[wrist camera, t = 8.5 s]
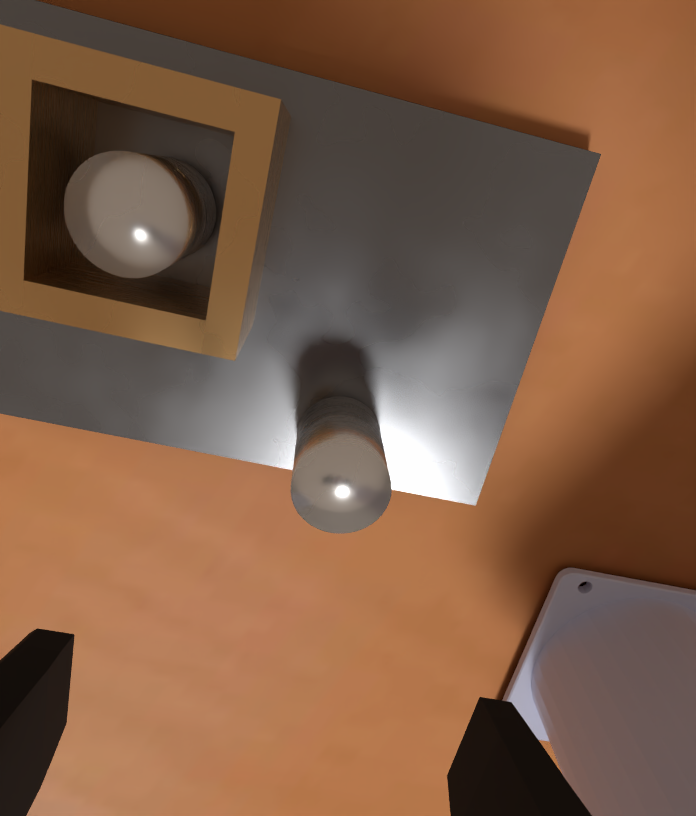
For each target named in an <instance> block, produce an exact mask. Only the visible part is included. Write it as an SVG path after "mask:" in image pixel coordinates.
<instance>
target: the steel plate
mask: <svg viewBox="0 0 696 816" xmlns="http://www.w3.org/2000/svg"><path fill="white" fill-rule="evenodd" d="M0 24H1V25H4V26H8V27H12V28H16V29H19V30H23V31H27V32H31V33H34V34H38V35H42V36H46V37H49V38H53V39H57V40H61V41H64V42H68V43H72V44H76V45H79V46H83V47H87V48H91V49H94V50H98V51H102V52H106V53H109V54H113V55H117V56H121V57H124V58H128V59H132V60H136V61H139V62H143V63H147V64H151V65H154V66H158V67H162V68H166V69H169V70H173V71H177V72H181V73H184V74H188V75H192V76H196V77H199V78H203V79H207V80H210V81H214V82H218V83H222V84H225V85H229V86H233V87H237V88H240V89H244V90H248V91H252V92H255V93H259V94H263V95H267V96H270V97H274V98H278V99H281V100H282V102H283V103H284V105H285V107H286V109H287V110H288V112H289V114H290V115H291V120H290V125H289V131H288V136H287V142H286V147H285V153H284V158H283V164H282V169H281V175H280V180H279V186H278V191H277V196H276V202H275V207H274V213H273V218H272V224H271V229H270V235H269V240H268V246H267V251H266V257H265V262H264V268H263V273H262V278H261V284H260V289H259V295H258V300H257V306H256V311H255V317H254V322H253V326H252V328H251V330H250V332H249V334H248V336H247V338H246V340H245V342H244V344H243V346H242V348H241V350H240V352H239V354H238V356H237V358H236V360H235V361H233V360H228V359H223V358H219V357H214V356H209V355H205V354H200V353H195V352H191V351H186V350H181V349H177V348H172V347H167V346H163V345H158V344H153V343H149V342H144V341H139V340H134V339H130V338H125V337H120V336H116V335H111V334H106V333H102V332H97V331H92V330H88V329H83V328H78V327H74V326H69V325H64V324H60V323H55V322H50V321H46V320H41V319H36V318H32V317H27V316H22V315H17V314H13V313H8V312H3V311H0V413H1V414H6V415H11V416H16V417H21V418H27V419H32V420H37V421H42V422H47V423H52V424H58V425H63V426H68V427H73V428H78V429H83V430H89V431H94V432H99V433H104V434H109V435H114V436H120V437H125V438H130V439H135V440H140V441H145V442H150V443H156V444H161V445H166V446H171V447H176V448H181V449H187V450H192V451H197V452H202V453H207V454H212V455H218V456H223V457H228V458H233V459H238V460H243V461H249V462H254V463H259V464H264V465H269V466H274V467H280V468H285V469H290V470H293V463H294V455H295V446H296V438H297V430H298V425H299V422H300V420H301V417H302V416H303V414H304V413H305V412H306V411H307V409H308V408H309V407H311V406H312V405H313V404H315V403H316V402H318V401H320V400H322V399H325V398H329V397H335V396H343V397H349V398H353V399H356V400H358V401H360V402H362V403H363V404H365V405H366V406H367V407H368V408H369V409H370V410H371V411H372V412H373V413H374V415H375V417H376V418H377V421H378V423H379V427H380V432H381V437H382V442H383V446H384V451H385V456H386V461H387V465H388V470H389V475H390V479H391V487H392V489H393V490H398V491H404V492H409V493H414V494H419V495H424V496H429V497H435V498H440V499H445V500H450V501H455V502H460V503H466V504H471V505H476V503H477V500H478V497H479V495H480V492H481V489H482V486H483V483H484V481H485V478H486V475H487V472H488V469H489V467H490V464H491V461H492V458H493V455H494V453H495V450H496V447H497V444H498V441H499V439H500V436H501V433H502V430H503V427H504V425H505V422H506V419H507V416H508V413H509V411H510V408H511V405H512V402H513V399H514V397H515V394H516V391H517V388H518V385H519V383H520V380H521V377H522V374H523V371H524V369H525V366H526V363H527V360H528V357H529V355H530V352H531V349H532V346H533V343H534V341H535V338H536V335H537V332H538V329H539V327H540V324H541V321H542V318H543V315H544V313H545V310H546V307H547V304H548V301H549V299H550V296H551V293H552V290H553V287H554V285H555V282H556V279H557V276H558V273H559V271H560V268H561V265H562V262H563V259H564V257H565V254H566V251H567V248H568V245H569V243H570V240H571V237H572V234H573V231H574V229H575V226H576V223H577V220H578V217H579V215H580V212H581V209H582V206H583V203H584V201H585V198H586V195H587V192H588V189H589V187H590V184H591V181H592V178H593V175H594V173H595V170H596V167H597V164H598V161H599V159H600V156H601V154H599V153H595V152H591V151H588V150H584V149H580V148H577V147H573V146H569V145H566V144H562V143H558V142H555V141H551V140H547V139H544V138H540V137H536V136H533V135H529V134H525V133H522V132H518V131H514V130H511V129H507V128H503V127H500V126H496V125H492V124H489V123H485V122H481V121H477V120H474V119H470V118H466V117H463V116H459V115H455V114H452V113H448V112H444V111H441V110H437V109H433V108H430V107H426V106H422V105H419V104H415V103H411V102H408V101H404V100H400V99H397V98H393V97H389V96H386V95H382V94H378V93H375V92H371V91H367V90H363V89H360V88H356V87H352V86H349V85H345V84H341V83H338V82H334V81H330V80H327V79H323V78H319V77H316V76H312V75H308V74H305V73H301V72H297V71H294V70H290V69H286V68H283V67H279V66H275V65H272V64H268V63H264V62H261V61H257V60H253V59H250V58H246V57H242V56H238V55H235V54H231V53H227V52H224V51H220V50H216V49H213V48H209V47H205V46H202V45H198V44H194V43H191V42H187V41H183V40H180V39H176V38H172V37H169V36H165V35H161V34H158V33H154V32H150V31H147V30H143V29H139V28H136V27H132V26H128V25H124V24H121V23H117V22H113V21H110V20H106V19H102V18H99V17H95V16H91V15H88V14H84V13H80V12H77V11H73V10H69V9H66V8H62V7H58V6H55V5H51V4H47V3H44V2H40V1H36V0H0ZM233 141H234V136H231V135H227V134H223V133H219V132H215V131H211V130H207V129H203V128H200V127H196V126H192V125H188V124H184V123H180V122H176V121H172V120H169V119H165V118H161V117H157V116H153V115H149V114H145V113H141V112H137V111H134V110H130V109H126V108H122V107H118V106H114V105H110V104H106V103H102V102H99V101H98V107H97V120H96V133H95V146H94V156H95V155H97V154H100V153H104V152H108V151H128V152H136V153H144V154H151V155H159V156H167V157H172V158H176V159H179V160H182V161H184V162H186V163H187V164H189V165H191V166H192V167H193V168H195V169H196V170H197V171H198V172H199V173H200V174H201V175H202V176H203V178H204V179H205V180H206V182H207V183H208V185H209V187H210V189H211V191H212V193H213V197H214V200H215V205H216V220H215V225H214V228H213V231H212V233H211V235H210V237H209V239H208V240H207V242H206V243H205V244H204V245H203V246H202V247H201V248H200V249H198V250H197V251H196V252H194V253H192V254H190V255H189V256H187V257H185V258H183V259H182V260H180V261H178V262H176V263H174V264H173V265H171V266H169V267H167V268H166V269H164V270H162V271H160V272H159V273H156V274H154V275H158V276H162V277H167V278H171V279H175V280H180V281H184V282H189V283H193V284H197V285H202V286H206V287H211V284H212V277H213V271H214V264H215V258H216V251H217V245H218V238H219V232H220V225H221V219H222V212H223V206H224V199H225V193H226V186H227V180H228V173H229V167H230V160H231V154H232V147H233ZM86 259H87V258H86ZM87 260H88V259H87Z"/></svg>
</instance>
